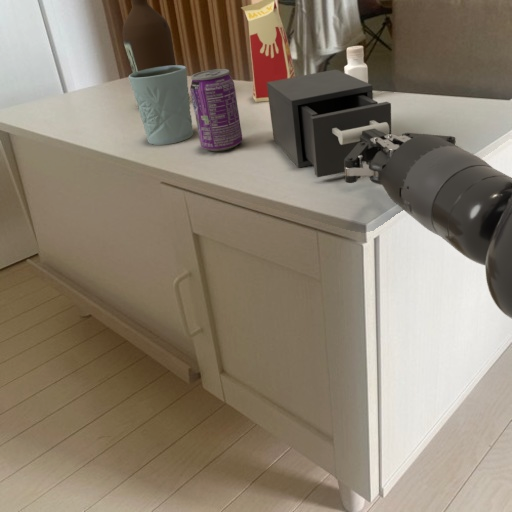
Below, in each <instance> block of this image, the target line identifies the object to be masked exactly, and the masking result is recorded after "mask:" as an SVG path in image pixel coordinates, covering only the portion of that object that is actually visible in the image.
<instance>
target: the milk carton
mask: <svg viewBox="0 0 512 512" xmlns="http://www.w3.org/2000/svg"><path fill="white" fill-rule="evenodd" d="M240 9H241V10H243V11H244V14H245V16H246V19H247V24H248V37H249V47H250V48H249V49H250V50H249V51H250V60H251V70H252V92H253V93H252V94H253V95H252V98H253V100H254V101H255V103H258V102H259V103H261V102H269V98H268V89H267V82H271V81H276V80H282V79H287V78H293V77H296V74H295V66H294V61H293V56H292V53H291V49H290V45H289V40H288V36H287V34H286V30H285V27H284V24H283V22H282V18H281V15H280V13H279V10H278V7H277V3H276V0H260V1H258V2H255V3H252V4H248V5H245V6H242V7H240Z"/></svg>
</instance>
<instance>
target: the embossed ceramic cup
mask: <svg viewBox="0 0 512 512" xmlns="http://www.w3.org/2000/svg"><path fill="white" fill-rule="evenodd" d="M128 81H129V83H130V86H131V90H132V92H133V96H134V99H135V101H136V103H137V107H138V112H139V115H140V118H141V121H142V125H143V128H144V132H145V134H146V135H145V136H146V140H147V142H148V143H149V144H150V145H155V146H164V145H165V146H166V145H172V144H176V143H179V142H183V141H186V140H188V139H190V138H191V137H192V136H193V135H194V127H193V121H192V114H191V102H190V98H189V96H190V93H189V87H188V86H189V84H188V71H187V67H186V65H180V64H176V65H172V66H162V67H155V68H150V69H145V70H141V71H138V72H134V73H132V72H131V74H129V75H128Z"/></svg>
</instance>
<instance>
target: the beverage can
mask: <svg viewBox="0 0 512 512" xmlns="http://www.w3.org/2000/svg"><path fill="white" fill-rule="evenodd" d="M190 79H191V84H190V87H189V88H190V96H191V101H192V107H193V111H194V117H195V121H196V128H197V133H198V138H199V143H200V147H201V148H203V149H205V150H208V151H210V152H224V151H227V150H228V151H229V150H231V149H234V148H235V147H237V146H238V145H239V144H240V143H242V141H243V132H242V126H241V119H240V113H239V107H238V100H237V99H238V98H237V94H236V93H237V92H236V87H235V86H236V85H235V81H234V80H233V78H232V76H231V75H230V69H227V68H216V69H209V70H204V71H199V72H196V73H194V74H192V75H190Z"/></svg>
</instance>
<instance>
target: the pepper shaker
mask: <svg viewBox="0 0 512 512" xmlns="http://www.w3.org/2000/svg"><path fill="white" fill-rule="evenodd" d="M364 57H365V53H364V46H363V45H352V46H348V47H347V48H346V61H347V64H346V65H344V67H343V69H344V73H346V74H348V75H350V76H352V77H355V78H357V79H359V80H361V81H364V82H366V83H368V84H369V69H368V65H367V64H366V63H365V61H364Z"/></svg>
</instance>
